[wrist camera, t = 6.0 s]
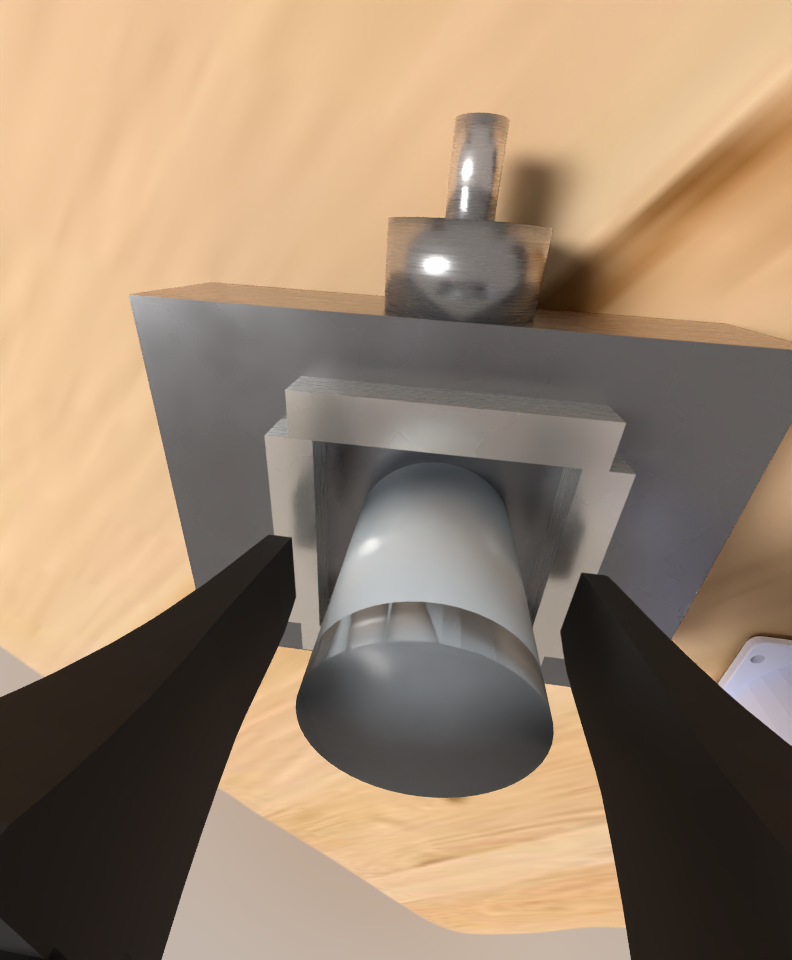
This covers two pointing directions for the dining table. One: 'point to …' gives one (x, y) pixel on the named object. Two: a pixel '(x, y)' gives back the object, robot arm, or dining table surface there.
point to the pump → (429, 645)
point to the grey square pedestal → (463, 412)
